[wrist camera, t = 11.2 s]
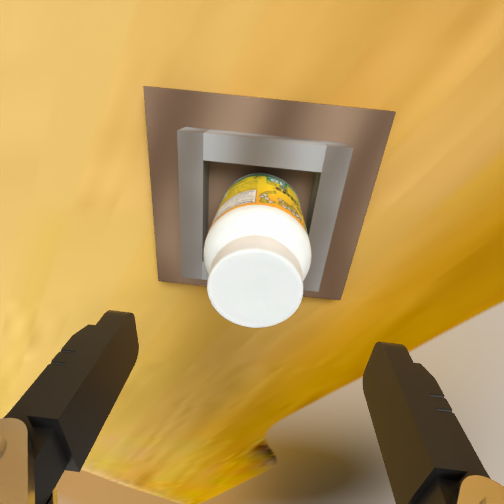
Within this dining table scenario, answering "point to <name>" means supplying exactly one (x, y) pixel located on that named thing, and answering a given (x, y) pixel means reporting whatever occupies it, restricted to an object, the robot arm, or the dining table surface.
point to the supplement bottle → (257, 252)
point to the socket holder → (260, 161)
